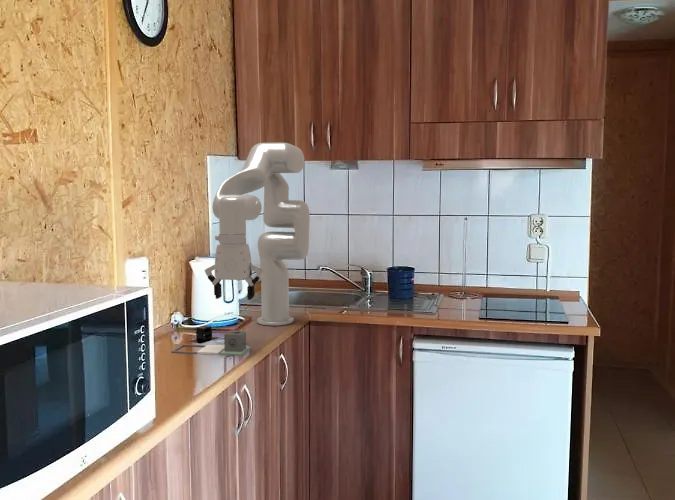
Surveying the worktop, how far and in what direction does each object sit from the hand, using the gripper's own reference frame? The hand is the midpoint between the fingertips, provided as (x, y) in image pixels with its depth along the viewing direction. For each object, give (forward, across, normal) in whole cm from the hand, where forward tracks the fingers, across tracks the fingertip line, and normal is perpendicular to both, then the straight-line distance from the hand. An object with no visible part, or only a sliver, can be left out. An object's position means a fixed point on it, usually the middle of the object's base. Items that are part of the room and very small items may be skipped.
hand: (234, 298), depth 201 cm
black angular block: (+17, -14, +12) cm, 25 cm away
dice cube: (+15, 0, 0) cm, 15 cm away
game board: (+16, -7, 0) cm, 17 cm away
